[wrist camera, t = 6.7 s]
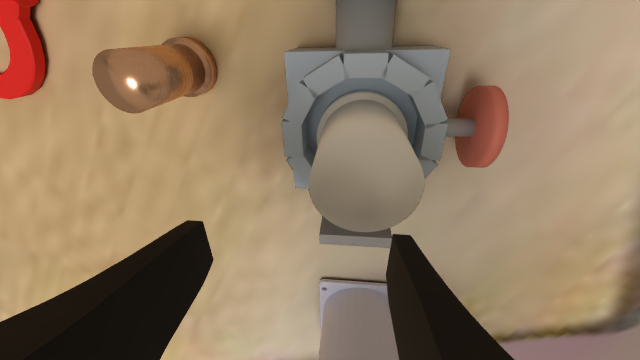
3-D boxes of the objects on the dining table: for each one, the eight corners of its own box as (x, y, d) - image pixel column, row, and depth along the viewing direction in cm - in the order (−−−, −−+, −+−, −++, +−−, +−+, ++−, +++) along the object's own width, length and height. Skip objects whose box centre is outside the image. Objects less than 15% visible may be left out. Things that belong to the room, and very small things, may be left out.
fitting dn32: (222, 93, 18) (169, 119, 13) (175, 93, 18) (105, 119, 13) (210, 36, 16) (144, 40, 11) (159, 38, 17) (72, 42, 11)
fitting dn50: (391, 176, 16) (409, 246, 11) (313, 163, 16) (295, 226, 11) (416, 97, 14) (454, 138, 8) (324, 82, 14) (308, 114, 9)
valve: (443, 209, 21) (467, 257, 16) (305, 203, 22) (293, 246, 17) (504, -32, 13) (577, -62, 9) (291, -22, 14) (265, -44, 10)
